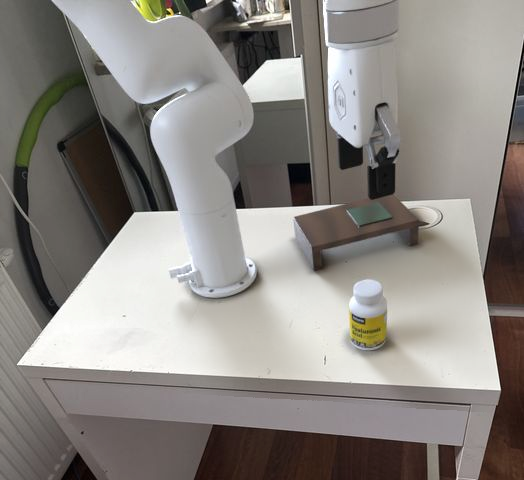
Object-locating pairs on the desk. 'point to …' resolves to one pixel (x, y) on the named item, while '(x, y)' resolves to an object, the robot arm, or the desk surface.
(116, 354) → the desk surface
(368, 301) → the supplement bottle
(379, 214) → the shelf
